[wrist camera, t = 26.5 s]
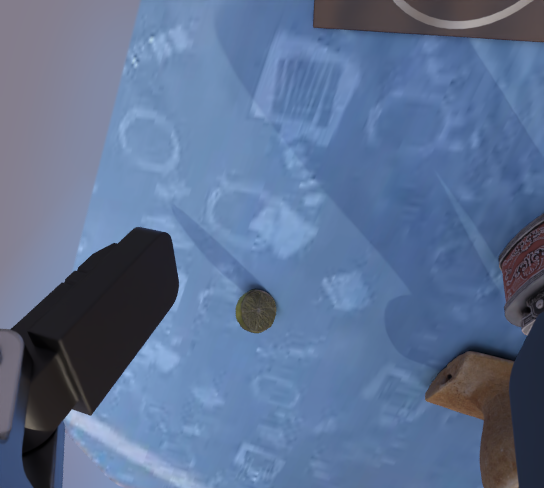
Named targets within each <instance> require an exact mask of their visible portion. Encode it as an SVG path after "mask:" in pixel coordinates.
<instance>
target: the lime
mask: <svg viewBox="0 0 544 488" xmlns="http://www.w3.org/2000/svg"><path fill="white" fill-rule="evenodd" d="M275 316H276V305H275V301H274V299H273V298H272V297H271V296H270V295H269V294H268V293H267V292H265V291H262V290H257V289H253V290H250V291H249V292H247V293H245V294H244V295H242V296H241V297H240V299H239V300H238V303H237V305H236V319H237V321H238V322H239V324H240V326H241V327H242V328H243V329H244V330H247V331H249V332H252V333H261V332H263V331H265V330H267V329H268V328H270V327H271V326H272V324H273V322H274V319H275Z"/></svg>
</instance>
